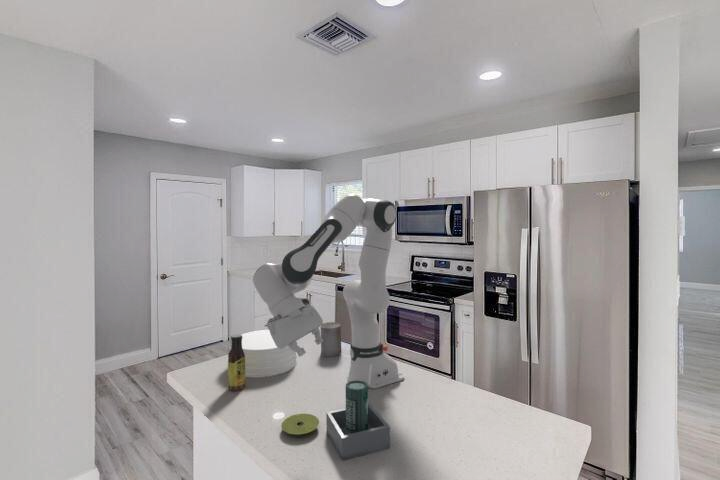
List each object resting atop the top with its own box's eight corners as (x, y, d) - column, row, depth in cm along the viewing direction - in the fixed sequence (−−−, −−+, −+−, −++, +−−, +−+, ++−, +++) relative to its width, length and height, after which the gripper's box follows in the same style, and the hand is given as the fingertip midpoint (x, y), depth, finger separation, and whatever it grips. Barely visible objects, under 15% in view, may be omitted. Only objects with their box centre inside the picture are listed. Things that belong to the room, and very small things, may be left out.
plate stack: (309, 364, 158) (309, 338, 158) (250, 384, 139) (250, 355, 138) (276, 348, 178) (276, 326, 178) (221, 363, 159) (220, 338, 159)
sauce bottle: (240, 392, 132) (239, 339, 131) (224, 390, 133) (223, 338, 132) (249, 384, 138) (248, 333, 137) (234, 383, 139) (233, 333, 138)
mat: (326, 430, 107) (326, 424, 107) (292, 445, 100) (292, 438, 100) (307, 415, 115) (306, 409, 115) (274, 428, 108) (274, 421, 108)
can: (371, 436, 102) (371, 385, 102) (356, 445, 98) (356, 392, 97) (357, 427, 107) (357, 378, 106) (342, 435, 103) (341, 384, 102)
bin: (369, 421, 112) (369, 403, 111) (389, 447, 99) (389, 426, 98) (326, 431, 106) (326, 412, 106) (342, 460, 93) (341, 438, 93)
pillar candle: (334, 348, 178) (333, 318, 178) (345, 353, 170) (344, 322, 170) (317, 352, 173) (316, 321, 172) (327, 358, 165) (327, 326, 164)
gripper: (270, 315, 100) (297, 357, 97) (312, 297, 118) (335, 332, 115) (258, 326, 102) (284, 368, 100) (300, 307, 121) (323, 341, 118)
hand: (312, 348), depth 108 cm, fingers open, 8 cm apart
